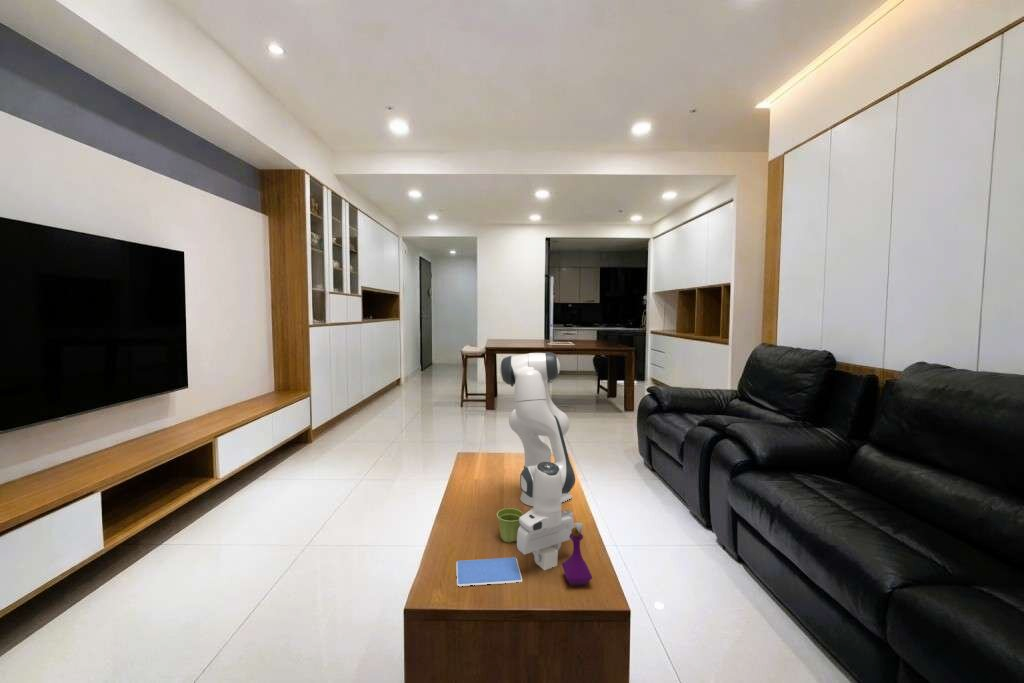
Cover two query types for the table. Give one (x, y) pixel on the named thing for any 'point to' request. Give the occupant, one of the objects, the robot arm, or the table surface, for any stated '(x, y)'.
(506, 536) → the plant pot
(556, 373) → the robot arm
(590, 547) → the table surface
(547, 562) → the cream block
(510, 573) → the tablet computer
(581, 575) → the perfume bottle
